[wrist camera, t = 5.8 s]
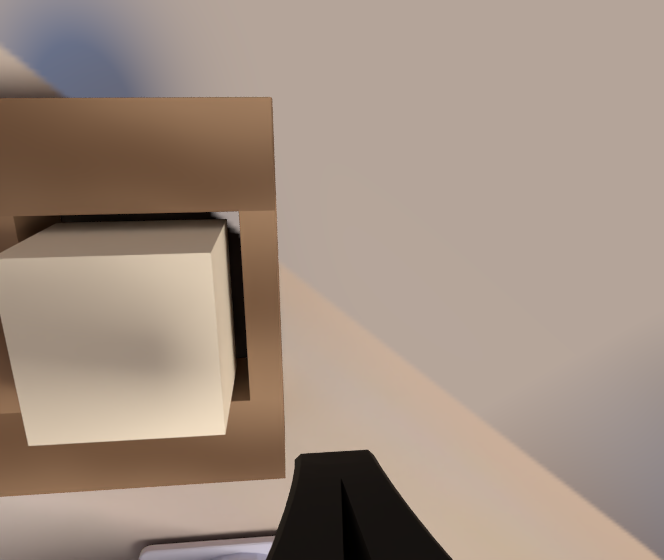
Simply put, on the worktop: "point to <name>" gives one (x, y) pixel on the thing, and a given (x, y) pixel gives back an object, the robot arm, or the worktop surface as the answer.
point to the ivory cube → (120, 330)
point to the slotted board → (150, 197)
